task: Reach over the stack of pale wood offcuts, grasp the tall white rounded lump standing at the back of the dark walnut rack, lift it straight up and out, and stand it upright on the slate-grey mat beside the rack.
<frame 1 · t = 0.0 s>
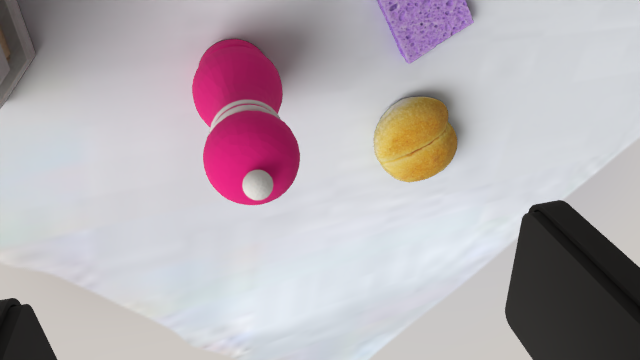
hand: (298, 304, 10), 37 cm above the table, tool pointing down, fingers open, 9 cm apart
bread roll: (411, 134, 53), on the table
pepper mill: (234, 72, 46), on the table
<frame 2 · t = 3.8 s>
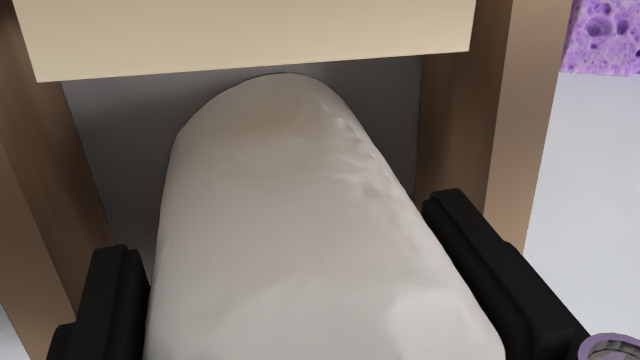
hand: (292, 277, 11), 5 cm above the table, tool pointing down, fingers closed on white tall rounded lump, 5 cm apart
white tall rounded lump: (264, 165, 15), resting in rack, touching gripper
rack: (253, 74, 13), on the table
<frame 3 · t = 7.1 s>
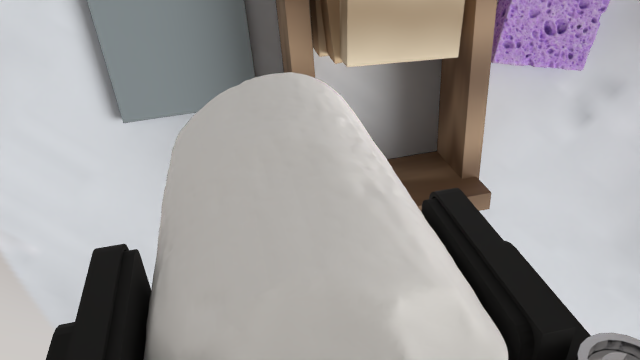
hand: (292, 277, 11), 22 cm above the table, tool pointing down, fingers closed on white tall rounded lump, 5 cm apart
white tall rounded lump: (265, 165, 15), point 17 cm above the table, touching gripper
rack: (374, 67, 32), on the table
offcut stack: (373, 1, 30), on the table
when the fingers open (6 cm above the table, at t = 10.7 s): white tall rounded lump drops 1 cm, resting on mat.
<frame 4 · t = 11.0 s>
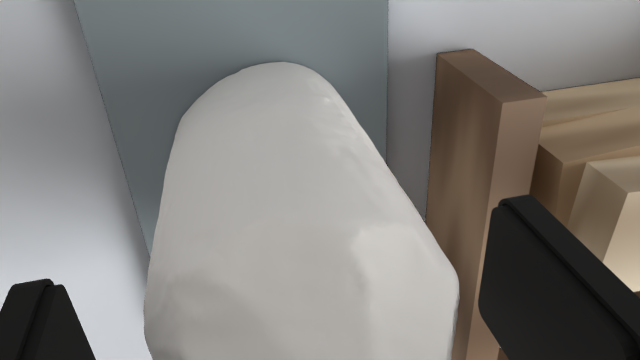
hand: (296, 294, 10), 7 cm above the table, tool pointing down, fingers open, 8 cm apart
white tall rounded lump: (261, 150, 16), resting on mat
mat: (257, 138, 16), on the table
rack: (556, 228, 21), on the table
offcut stack: (576, 141, 19), on the table
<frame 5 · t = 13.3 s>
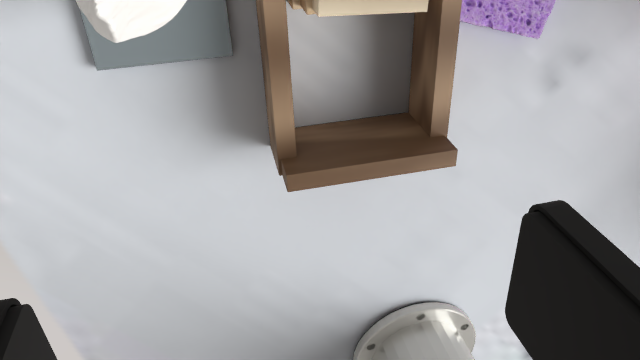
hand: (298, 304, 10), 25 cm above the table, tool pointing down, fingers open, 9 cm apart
rack: (347, 24, 33), on the table
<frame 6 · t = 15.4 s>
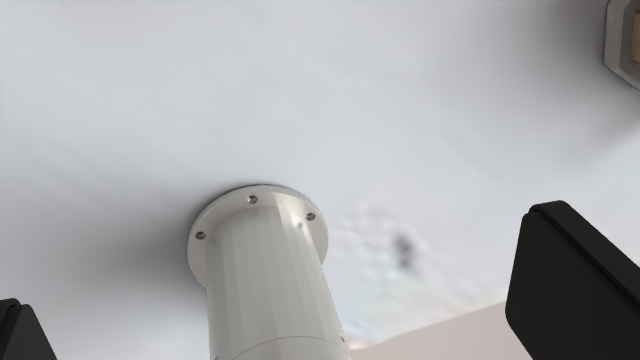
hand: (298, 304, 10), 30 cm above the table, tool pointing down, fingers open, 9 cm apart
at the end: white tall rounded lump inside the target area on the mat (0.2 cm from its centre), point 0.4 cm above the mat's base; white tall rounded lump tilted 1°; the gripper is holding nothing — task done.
